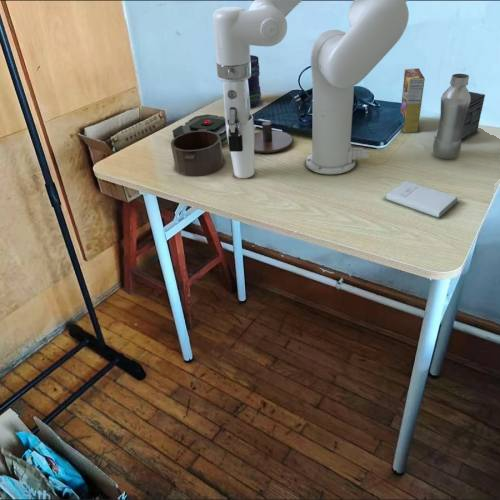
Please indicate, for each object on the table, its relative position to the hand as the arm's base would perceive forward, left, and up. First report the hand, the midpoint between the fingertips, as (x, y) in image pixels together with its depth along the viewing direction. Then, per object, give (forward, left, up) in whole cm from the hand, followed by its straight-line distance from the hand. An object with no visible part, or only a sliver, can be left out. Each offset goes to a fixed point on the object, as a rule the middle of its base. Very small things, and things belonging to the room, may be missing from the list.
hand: (238, 142), depth 111 cm
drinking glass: (-1, 0, -9) cm, 9 cm away
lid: (-5, -18, -8) cm, 21 cm away
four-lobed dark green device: (+13, -26, -9) cm, 31 cm away
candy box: (-46, -28, -9) cm, 54 cm away
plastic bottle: (-52, -8, -9) cm, 53 cm away
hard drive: (-42, +14, -9) cm, 45 cm away
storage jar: (+4, -52, -9) cm, 53 cm away
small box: (-58, -21, -9) cm, 62 cm away
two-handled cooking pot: (+12, -6, -9) cm, 16 cm away
